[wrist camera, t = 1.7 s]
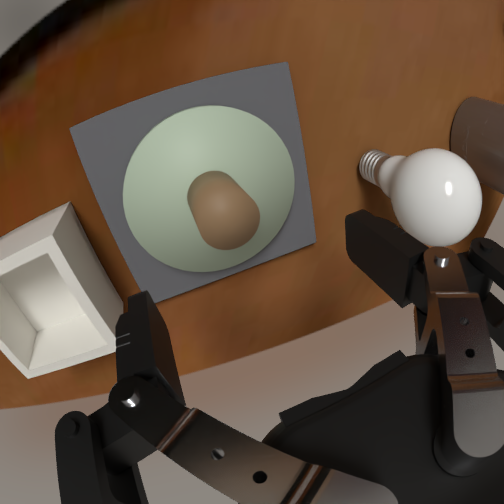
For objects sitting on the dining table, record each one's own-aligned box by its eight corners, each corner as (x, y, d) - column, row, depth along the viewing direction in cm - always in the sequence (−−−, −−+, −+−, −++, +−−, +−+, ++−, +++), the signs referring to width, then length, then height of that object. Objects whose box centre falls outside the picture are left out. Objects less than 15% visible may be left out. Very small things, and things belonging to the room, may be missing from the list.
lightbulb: (385, 199, 26) (478, 260, 17) (328, 197, 24) (427, 270, 15) (400, 132, 23) (507, 174, 14) (342, 119, 21) (462, 158, 12)
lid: (270, 87, 18) (310, 89, 14) (297, 232, 24) (332, 267, 20) (98, 141, 16) (83, 160, 12) (159, 283, 22) (167, 332, 18)
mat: (282, 62, 18) (287, 61, 17) (311, 237, 26) (316, 242, 25) (72, 126, 16) (69, 128, 15) (148, 298, 23) (149, 305, 23)
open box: (70, 201, 18) (52, 234, 14) (123, 302, 23) (123, 348, 19) (-21, 249, 16) (-47, 287, 12) (37, 334, 21) (27, 378, 17)
